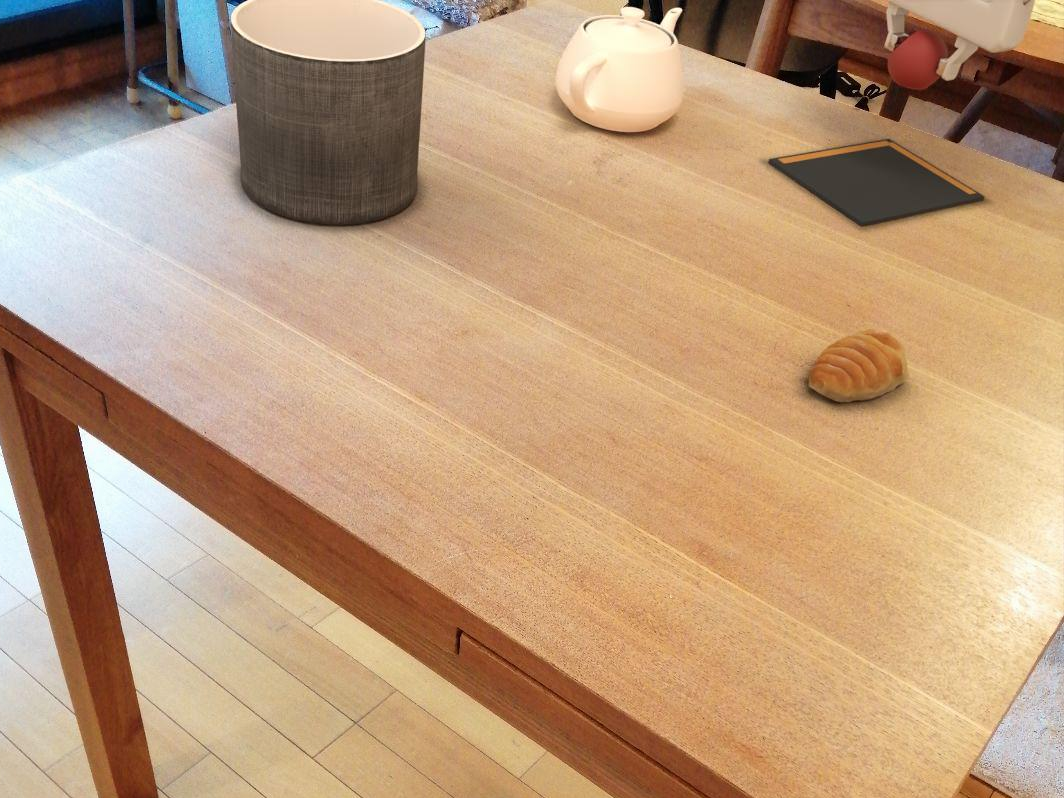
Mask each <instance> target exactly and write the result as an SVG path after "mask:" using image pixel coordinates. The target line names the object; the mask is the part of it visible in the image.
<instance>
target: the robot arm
mask: <svg viewBox="0 0 1064 798" xmlns="http://www.w3.org/2000/svg"><path fill="white" fill-rule="evenodd" d="M886 1H887V2H888V4H887V5H888V6H887V8H886V11H885V14H886V23H887V24H886V25H887V32H888V33H887V36H886V39H885V42H884V45H883V47H884V49H887V50H888V51H890V52H891V53H892V52H893V51H894V50H895V49H896V48H897V47H898V46H899V45H900V44H902V43H903V42H904V41H905V40H906V39H907V38H909V37H910V35H909V34H907V32H906V33H905V16H907V15H909V14H913V15H915V16H917V17H919V18H921V19H923V20H924V21H927V22H929V23H931V24H933V25H935V26H937V27H939V28H941V29H943V30H945V31H947V32H949V33H951V34H953V35H955V36H957V37H956V40H955V43H954V47H955V48H957V49H956V50H955V51H954V53H952V54H951V56H949V57H947V59H945V58H944V59H940V62H939V64H938V69H937V70H936V75H937V76H939V78H941V79H942V80H944V81H946V82H947V81H953V80H955V79H956V78H957V76H958V73H959V71H960V68H961V66H962V64H964V63H965V62H966V61H967V60H968V59H969V58H970V57H971V56H972V55H973V54H975V52H977V51H978V49H979V48H981V49H983V50H985V51H986V52H989V53H993V54H995V53H996V54H997V53H1004V52H1009V51H1012V50H1013V49H1015V48H1017V47H1018V46H1019V45H1020V44H1022V41H1023V39H1024V37H1025V34H1026V32H1027V29H1028V26H1029V23H1030V20H1031V17H1032V14H1033V9H1034V5H1035V2H1036V0H886Z"/></svg>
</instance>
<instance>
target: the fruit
mask: <svg viewBox="0 0 1064 798" xmlns="http://www.w3.org/2000/svg"><path fill="white" fill-rule="evenodd" d="M948 55H949V54H948V48H947V45H946V42H945V40H944V39H943V38H942V37H941V35H940V34H939V33H937V32H935V31H934V30H931V29H927V28H920V29H918V30H916V32H914V33H912V34H911V35H909V38H907V39H906V40H905V41H904V42H903V43H902V44H900V45H899V46H898V47H897V48H896V49H895V50H894V51H893V52H892V51H891V53H890V54H889V56H888V57H887V70H888V74H889V76H890V79H891V80H892V81H893V82H894V83H895V84H897V85H898V86H900V87H904V88H907V89H912V90H921V91H922V90H926V89H928V88H929V87H930V86H932V85H933V84H935V82H937V81H938V80H939V78H940V77H939V76H937V75H936V70H937V69H938V64H939V62H940V59H944V58H945V59H947V58H949V57H948Z"/></svg>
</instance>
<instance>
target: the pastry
mask: <svg viewBox="0 0 1064 798" xmlns="http://www.w3.org/2000/svg"><path fill="white" fill-rule="evenodd" d="M905 354H906V350H905V348H904V346H903V344H902V343H901V342H900V341H899V340H898V338H896V337H894V336H893V335H892V334H890V333H889V332H886V331H876V330H875V329H873V328H868V329H867V330H860V331H859V332H857V333H856V334H853V335H848V336H845V337H842V338H840V339H838V340H837V341H835V342H834V343H832V344H829V346H827V347H826V348H825V349H824V350H822V351H821V353H820V355H819V356H818V357H817V359H816V361H815V363H814V365H813V366H812V367H811V368H810V370H809V376H808V387H809V388H810V389H812V390H814V391H815V392H817V393H818V394H820V395H822V396H824V397H826V398H828V399H831V400H832V401H834V402H840V403H841V404H842V403H844V402H845V403H851V402H853V401H862V402H863V401H868V400H872V399H876V398H878V397H880V396H883V395H884V394H886V393H890V392H893V391H894V390H895V389H896V388H897V387H898V386H900V385H902V384H903V383H904V382H905V381H907V380H908V378H909V376H910V372H909V369H908V360H907V358H906V355H905Z"/></svg>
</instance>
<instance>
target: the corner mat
mask: <svg viewBox="0 0 1064 798" xmlns="http://www.w3.org/2000/svg"><path fill="white" fill-rule="evenodd" d="M768 164H769V165H771V166H772V167H774V168H775V169H777V170H778V171H779V172H781V173H782V174H784V175H785V176H787V177H789V178H790V179H791V180H793V181H794V182H795V183H797V184H798V185H800V186H801V187H803V188H804V189H806V190H807V191H809V192H810V193H812V194H813V195H815V196H816V197H817V198H819V199H821V200H822V201H824V202H825V203H826V204H828V205H829V206H831V207H832V208H833V209H835V210H836V211H838V212H839V213H841V214H843V215H844V216H845V217H847V218H848V219H850V220H851V221H853V222H855V223H856V224H857V225H859V226H860V227H866V226H870V225H875V224H880V223H884V222H889V221H893V220H894V221H895V220H898V219H902V218H907V217H913V216H917V215H921V214H926V213H931V212H935V211H941V210H944V209H949V208H954V207H958V206H964V205H968V204H972V203H977V202H981V201H984V199H985V198H986V196H985V195H983V194H982V193H980V192H979V191H976V190H975V189H974V188H972V187H970V186H968V185H967V184H965V183H963V182H962V181H960V180H958V179H956V178H955V177H953V176H952V175H950V174H949V173H947V172H945V171H944V170H942V169H940V168H939V167H937V166H935V165H934V164H932V163H931V162H929V161H927V160H926V159H924V158H922V157H921V156H919V155H917V154H916V153H914V152H912V151H910V150H908V148H905V147H904V146H902V145H901V144H899V143H897V142H895V141H894V140H892V139H891V138H885V139H884V138H883V139H879V140H874V141H868V142H861V143H856V144H850V145H843V146H838V147H831V148H826V149H820V150H814V151H808V152H801V153H796V154H791V155H785V156H779V157H771V158H768Z"/></svg>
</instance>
